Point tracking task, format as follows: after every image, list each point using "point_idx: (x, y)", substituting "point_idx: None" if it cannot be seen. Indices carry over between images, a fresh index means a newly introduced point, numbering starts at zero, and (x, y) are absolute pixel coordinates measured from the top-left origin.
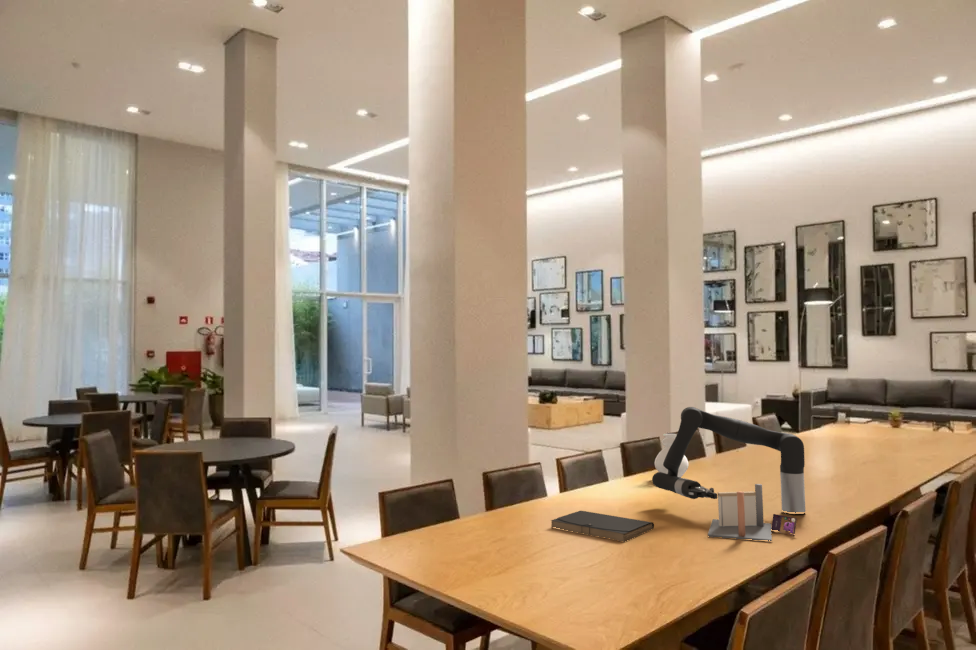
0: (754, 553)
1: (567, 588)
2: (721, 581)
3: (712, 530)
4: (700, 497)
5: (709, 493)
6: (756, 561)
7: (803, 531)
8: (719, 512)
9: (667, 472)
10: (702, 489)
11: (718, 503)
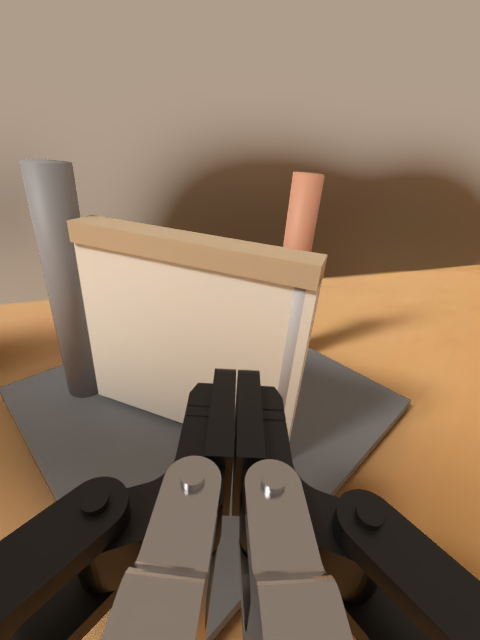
0: (334, 298)
1: None
2: (463, 272)
3: (362, 428)
4: (380, 590)
5: (269, 437)
6: (359, 283)
7: (20, 325)
8: (299, 385)
9: None
10: (321, 582)
11: (308, 341)
